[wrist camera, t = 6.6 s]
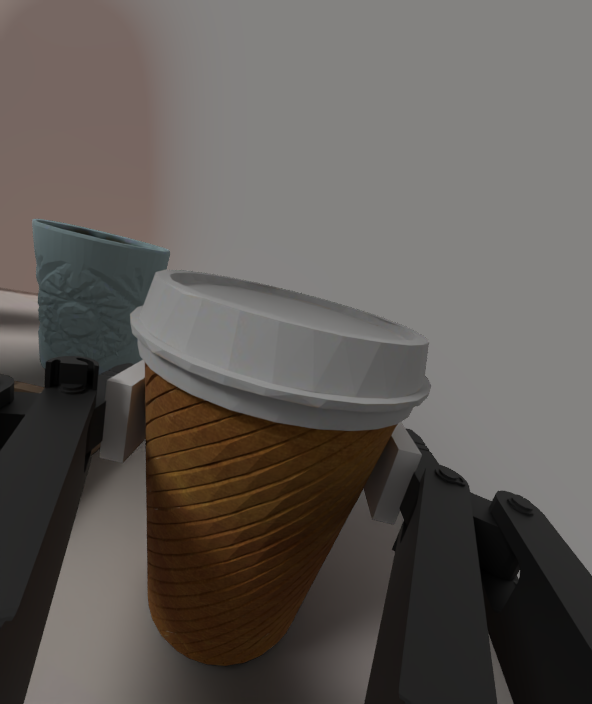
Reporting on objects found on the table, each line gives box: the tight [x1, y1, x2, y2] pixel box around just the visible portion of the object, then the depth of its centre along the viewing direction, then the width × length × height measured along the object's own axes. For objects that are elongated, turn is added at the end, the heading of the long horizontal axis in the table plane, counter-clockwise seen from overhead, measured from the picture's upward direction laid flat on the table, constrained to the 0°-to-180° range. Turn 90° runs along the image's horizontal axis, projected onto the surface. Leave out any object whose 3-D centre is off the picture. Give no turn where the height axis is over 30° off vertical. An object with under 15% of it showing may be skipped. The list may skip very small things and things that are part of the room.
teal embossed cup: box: [32, 219, 170, 375], centre depth 29 cm, size 10×10×12 cm
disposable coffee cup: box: [130, 270, 431, 666], centre depth 12 cm, size 10×10×12 cm
